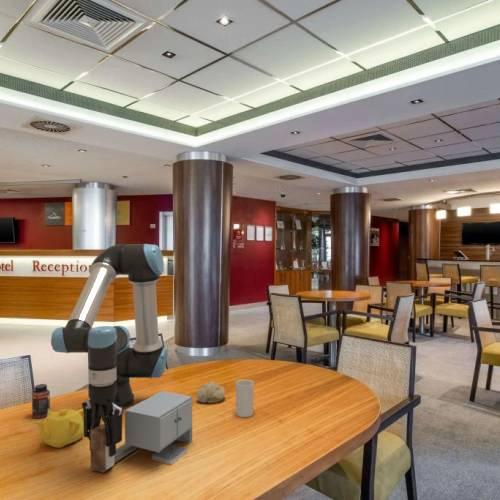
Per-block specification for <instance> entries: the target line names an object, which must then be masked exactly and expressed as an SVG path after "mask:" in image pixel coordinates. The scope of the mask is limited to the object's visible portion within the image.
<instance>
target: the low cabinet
mask: <svg viewBox="0 0 500 500" xmlns="http://www.w3.org/2000/svg"><path fill="white" fill-rule="evenodd" d="M124 410H125V411H124V444H127V445H131V446H135V447H138V448H139V449H143V450H144V449H145V450H148V451H151V452H154V453H156V452H159V451H161V450H162V449H164V448H165V447H166V446H168V445H169V444H172V443H174V441H178V442H183V443H188V444H191V442H192V443H193V396H192V395H191V396H190V395H187V394H186V395H185V394H179V393H174V392H169V391H162V390H161V391H160V392H157V393H156V394H154V395H152V396H150V397H148V398H146V399H144V400H142V401H141V402H139V403H136V404H134V405H133V406H130V407H128V408H127V409H124Z"/></svg>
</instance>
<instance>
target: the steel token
mask: <svg viewBox="0 0 500 500" xmlns="http://www.w3.org/2000/svg"><path fill="white" fill-rule="evenodd" d="M187 453H188V448H187V447H183V446H178V445H175V444H172V443H170V444H169V445H168V446H166V447H165V448H164V449H162V450H161V451H159V452H154V454H152V455H151V460H152V459H153V460H152V461H155V460H156V461H155V462H158V461H160V462H159V463H162V462H163V463H162V464H165V463H167V464H166V465H169V464H172V465H173V464H175V463H176V462H177V461H178V459H179V458H180V457H181V458H182V457H184V456H185V455H186V454H187ZM183 455H184V456H183ZM181 458H180V459H181ZM180 459H179V460H180ZM175 461H176V462H175ZM174 462H175V463H174Z"/></svg>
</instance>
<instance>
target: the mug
mask: <svg viewBox="0 0 500 500" xmlns="http://www.w3.org/2000/svg"><path fill="white" fill-rule="evenodd" d="M254 389H255V387H254V381H253V380H251V379H238V380H237V381H236V382H235V402H236V403H235V405H236V407H235V408H236V409H235V411H236V412H235V413H236V416H237V417H239V418H249V417H252V416H253V415H254V393H255V392H254Z"/></svg>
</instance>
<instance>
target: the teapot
mask: <svg viewBox="0 0 500 500" xmlns="http://www.w3.org/2000/svg"><path fill="white" fill-rule="evenodd" d="M34 424H36V425H38V426H39V435H40V437H41V440H42V442H43V443H44V444H45V445H48V446H50V447H53V448H59V449H60V448H64V447H65V446H68V445H70V444H73V443H74V442H77V441H78V440H80V439H81V438H83V437H84V411H83V407H82V408H80V409H78V410H75V409H71V408H62V409H59V410H58V411H52V410H50V412H48V413H47V416H46V417H45V420H44V421H40V420H39V421H34Z"/></svg>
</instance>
